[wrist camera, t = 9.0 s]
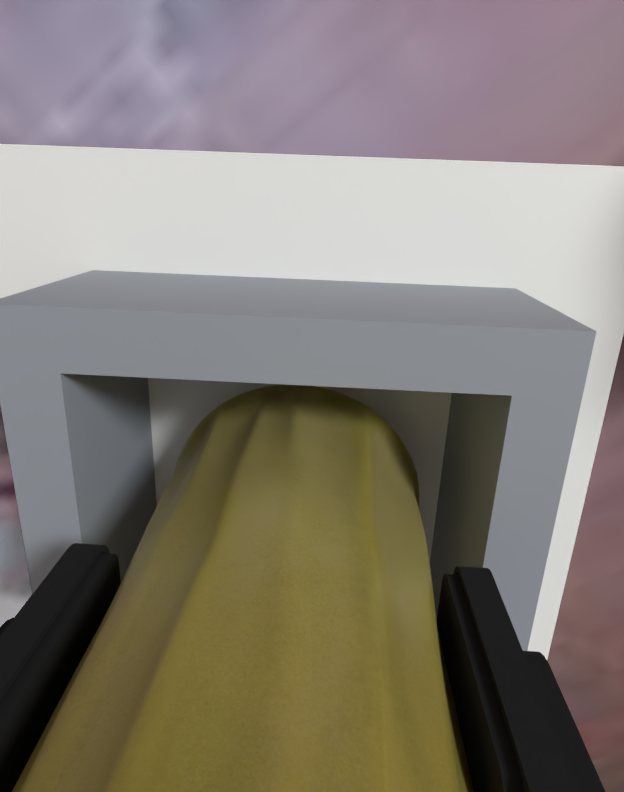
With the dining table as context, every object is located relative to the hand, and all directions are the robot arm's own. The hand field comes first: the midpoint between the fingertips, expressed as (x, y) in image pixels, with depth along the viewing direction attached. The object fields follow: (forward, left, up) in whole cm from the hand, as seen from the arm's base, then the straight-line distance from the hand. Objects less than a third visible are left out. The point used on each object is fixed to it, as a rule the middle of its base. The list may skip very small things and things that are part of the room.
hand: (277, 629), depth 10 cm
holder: (0, 0, -7) cm, 7 cm away
